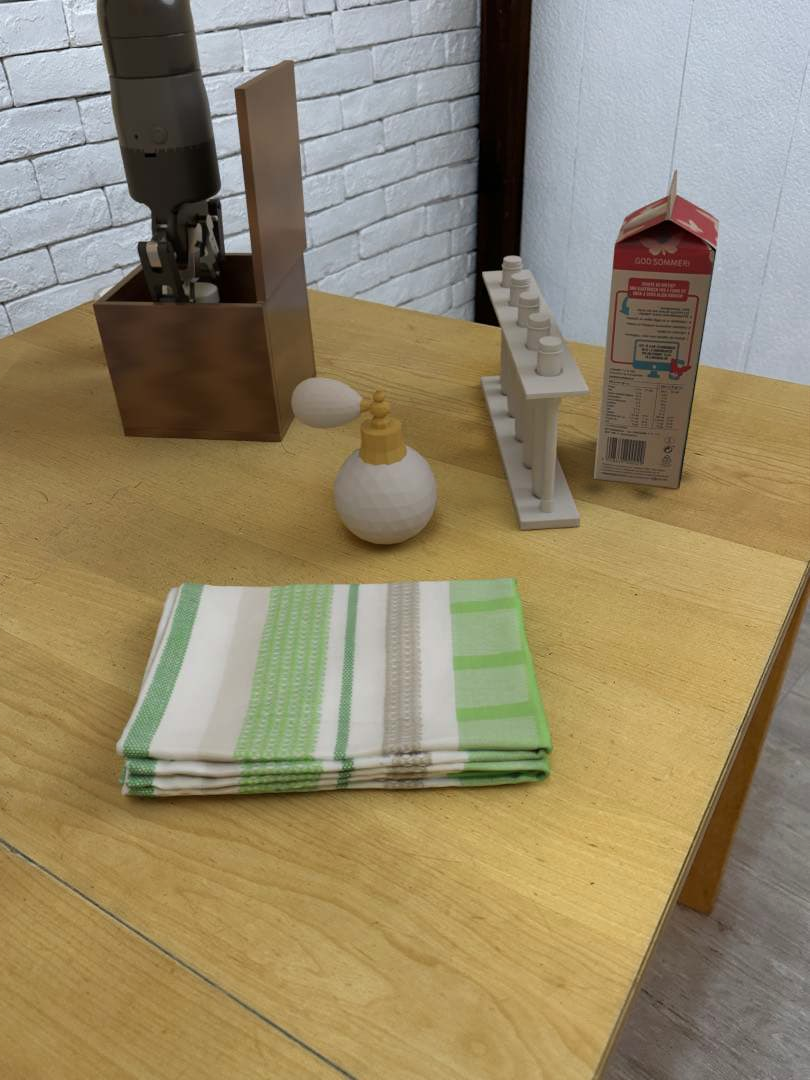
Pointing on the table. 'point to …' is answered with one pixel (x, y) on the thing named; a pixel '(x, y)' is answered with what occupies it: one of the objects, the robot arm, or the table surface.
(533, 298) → the test tube rack
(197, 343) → the chest
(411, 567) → the table surface
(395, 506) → the perfume bottle
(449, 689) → the dish towel
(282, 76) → the lid
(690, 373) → the juice carton
